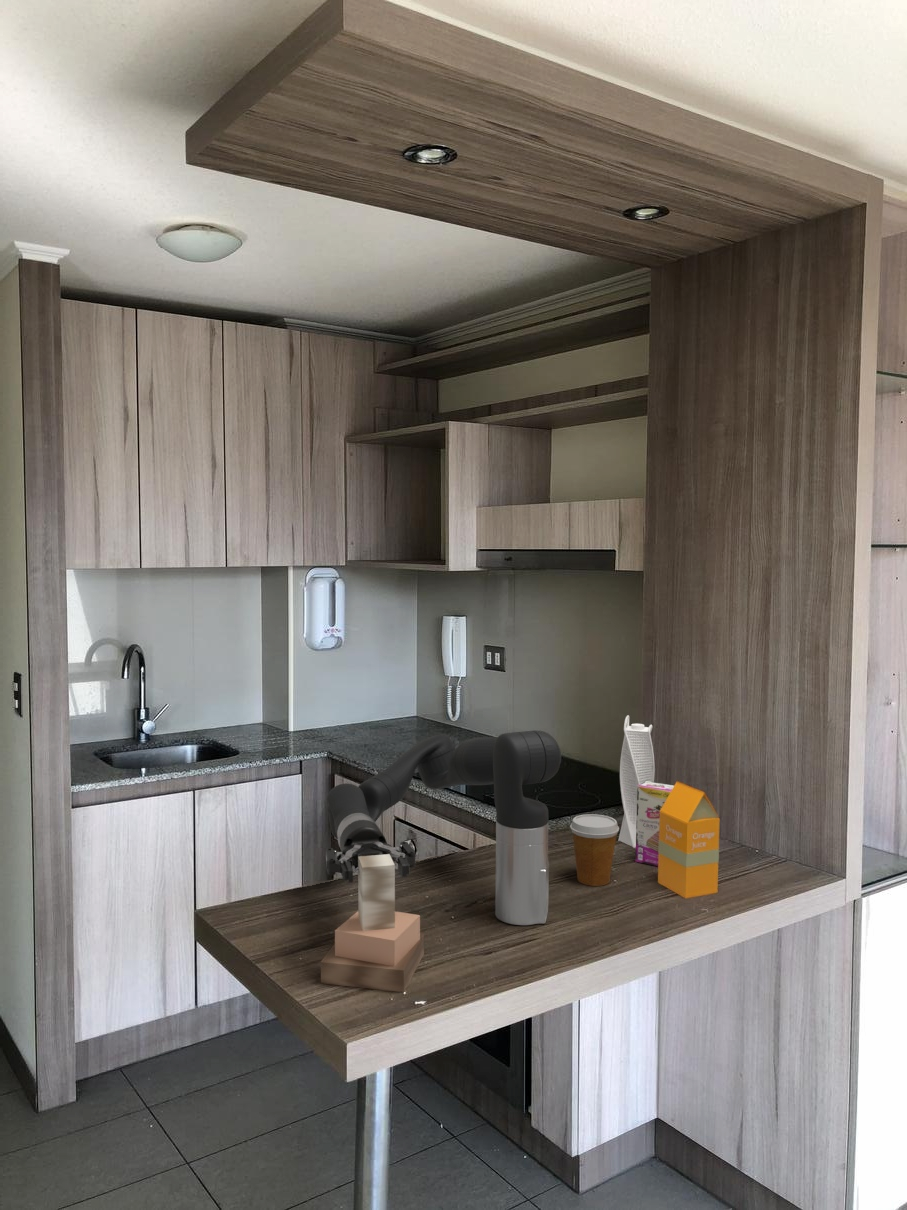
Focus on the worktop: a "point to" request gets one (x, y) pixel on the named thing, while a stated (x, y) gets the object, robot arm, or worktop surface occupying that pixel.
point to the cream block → (376, 892)
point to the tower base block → (371, 970)
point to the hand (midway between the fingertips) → (377, 874)
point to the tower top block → (378, 940)
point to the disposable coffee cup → (594, 847)
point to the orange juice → (688, 843)
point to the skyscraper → (634, 774)
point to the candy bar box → (649, 820)
